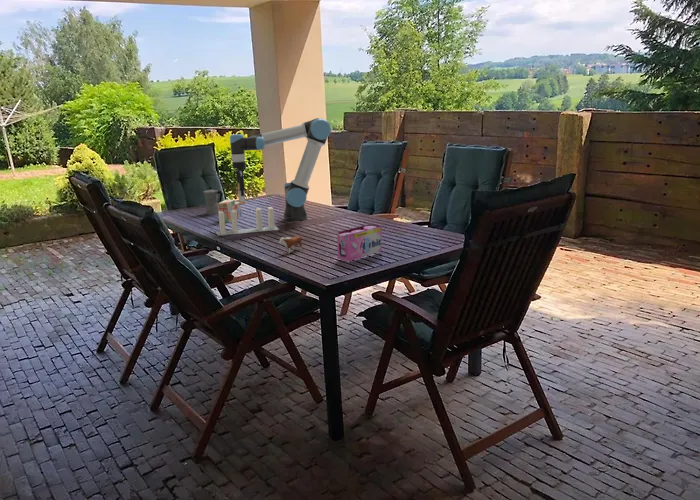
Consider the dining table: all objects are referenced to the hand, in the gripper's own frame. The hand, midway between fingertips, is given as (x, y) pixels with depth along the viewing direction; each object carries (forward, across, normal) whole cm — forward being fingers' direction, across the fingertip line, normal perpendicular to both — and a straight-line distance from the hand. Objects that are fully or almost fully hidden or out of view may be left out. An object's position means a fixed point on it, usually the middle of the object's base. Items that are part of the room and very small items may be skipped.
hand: (242, 200), depth 339 cm
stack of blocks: (+16, -27, -4) cm, 32 cm away
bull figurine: (+16, +70, +12) cm, 73 cm away
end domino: (+15, +16, -14) cm, 26 cm away
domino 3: (+15, +16, +6) cm, 23 cm away
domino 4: (+15, +16, +14) cm, 26 cm away
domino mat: (+16, +16, 0) cm, 22 cm away
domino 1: (+15, +16, -8) cm, 23 cm away
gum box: (+17, +93, +40) cm, 103 cm away
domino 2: (+2, 0, 0) cm, 2 cm away
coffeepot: (+16, -50, -12) cm, 54 cm away
